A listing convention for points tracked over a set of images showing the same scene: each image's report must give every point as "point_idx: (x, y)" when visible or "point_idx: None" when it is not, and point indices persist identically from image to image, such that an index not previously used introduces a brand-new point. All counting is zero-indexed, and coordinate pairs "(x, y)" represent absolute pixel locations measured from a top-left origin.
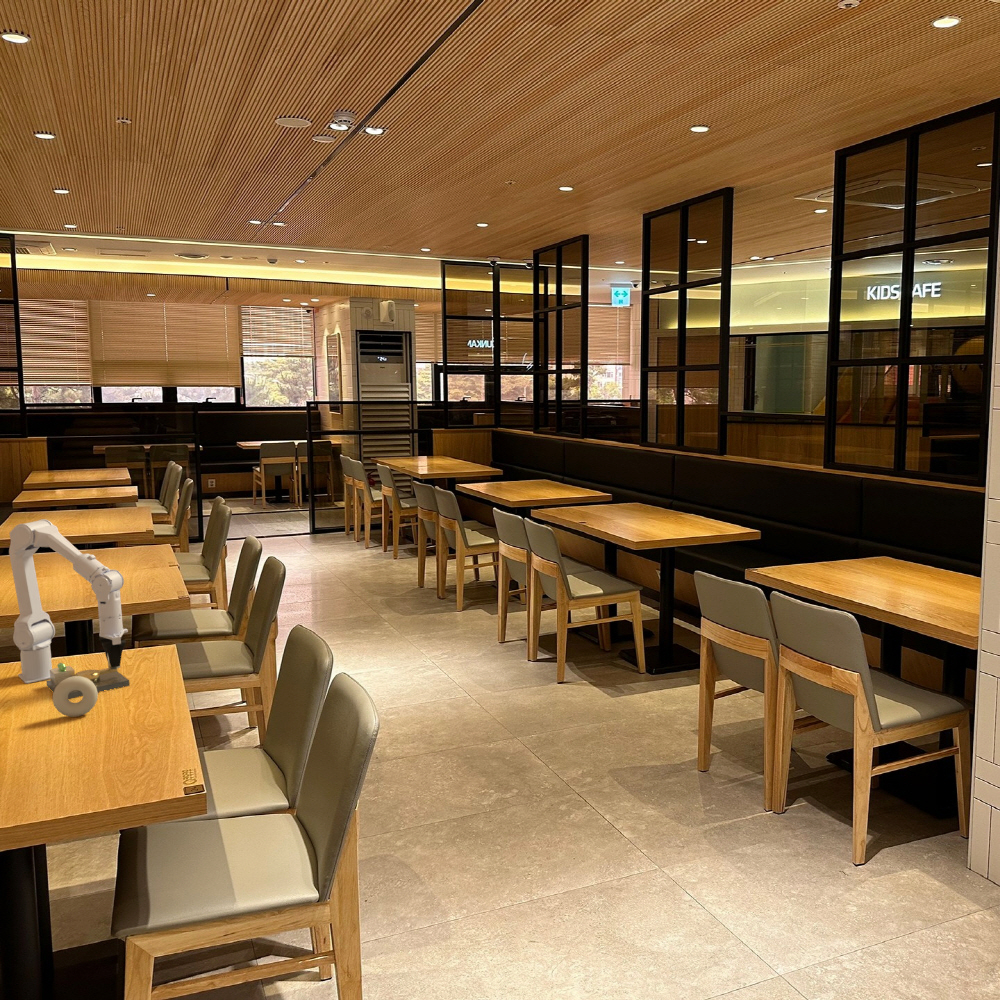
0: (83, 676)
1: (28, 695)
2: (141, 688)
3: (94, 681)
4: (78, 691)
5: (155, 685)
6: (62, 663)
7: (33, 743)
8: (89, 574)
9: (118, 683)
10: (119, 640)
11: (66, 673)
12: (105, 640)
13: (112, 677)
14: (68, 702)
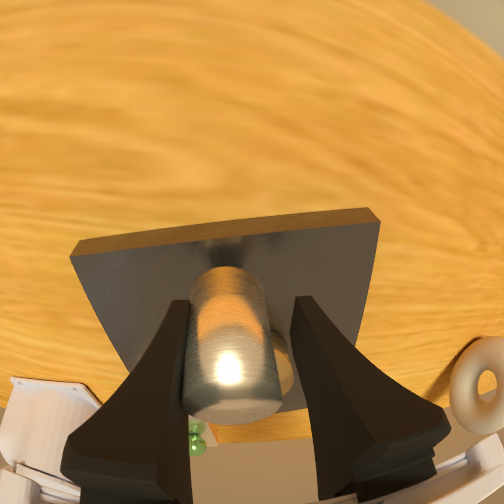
0: (283, 393)
1: (222, 427)
2: (440, 175)
3: (285, 345)
4: None
5: (449, 111)
6: None
7: (487, 380)
8: None
9: (370, 265)
10: (500, 457)
11: (211, 424)
12: (186, 492)
13: (265, 281)
14: (477, 386)
